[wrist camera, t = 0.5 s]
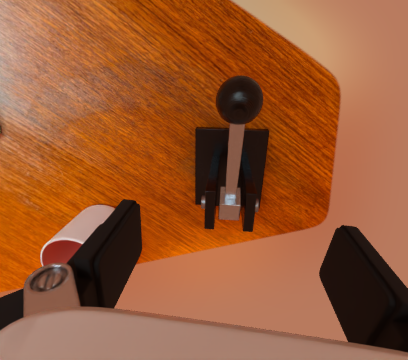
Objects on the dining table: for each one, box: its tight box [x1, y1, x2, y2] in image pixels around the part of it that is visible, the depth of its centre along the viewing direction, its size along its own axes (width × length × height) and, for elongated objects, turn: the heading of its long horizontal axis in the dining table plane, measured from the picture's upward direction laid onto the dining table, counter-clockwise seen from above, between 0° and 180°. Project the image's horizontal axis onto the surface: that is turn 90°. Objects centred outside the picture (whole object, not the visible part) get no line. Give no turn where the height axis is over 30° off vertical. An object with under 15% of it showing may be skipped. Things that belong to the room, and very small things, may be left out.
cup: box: [40, 205, 115, 266], centre depth 37 cm, size 10×10×10 cm
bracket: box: [195, 127, 269, 232], centre depth 29 cm, size 12×10×13 cm
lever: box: [216, 75, 263, 220], centre depth 20 cm, size 15×3×3 cm, turn 179°
